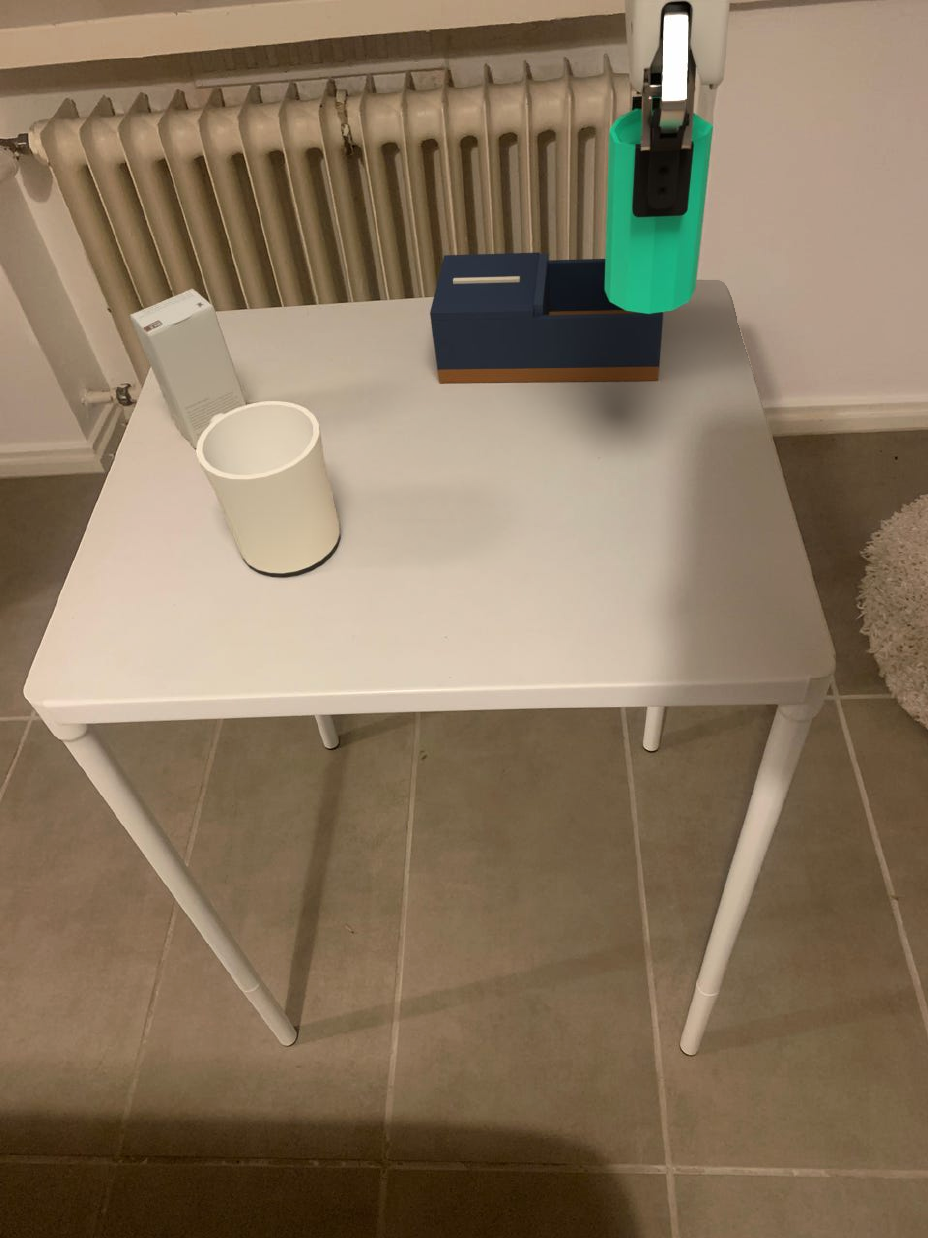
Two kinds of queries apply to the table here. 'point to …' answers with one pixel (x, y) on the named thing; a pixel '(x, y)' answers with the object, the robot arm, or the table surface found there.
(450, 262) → the navy slotted box
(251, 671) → the table surface
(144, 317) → the cosmetic box
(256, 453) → the mug
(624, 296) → the candle
